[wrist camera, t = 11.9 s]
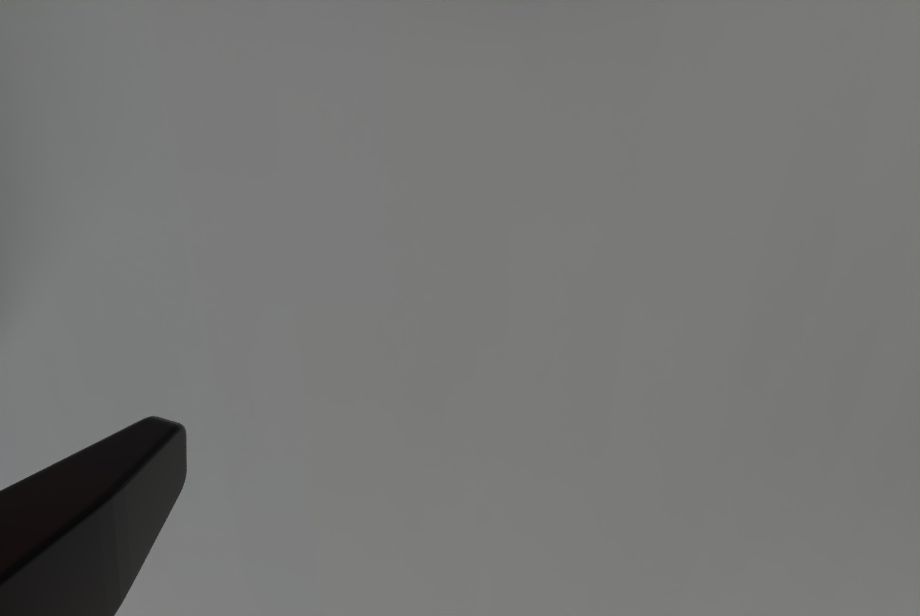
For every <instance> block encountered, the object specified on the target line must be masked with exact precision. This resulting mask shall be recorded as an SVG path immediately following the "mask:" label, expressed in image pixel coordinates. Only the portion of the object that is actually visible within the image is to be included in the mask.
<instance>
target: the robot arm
mask: <svg viewBox="0 0 920 616" xmlns="http://www.w3.org/2000/svg"><path fill="white" fill-rule="evenodd" d="M186 472H187V458H186V430H185V428H184V426H183V425H181V424H180V423H177V422H174V421H170V420H167V419H164V418H160V417H156V416H151V417H147V418H144V419H142V420H140V421H138V422H136V423H134V424H132V425H130V426H128V427H126V428H124V429H122V430H120V431H118V432H117V433H115V434H113V435H111V436H109V437H107V438H105V439H103V440H101V441H99V442H97V443H95V444H93V445H91V446H89V447H87V448H85V449H83V450H81V451H79V452H77V453H75V454H73V455H71V456H69V457H67V458H65V459H63V460H61V461H59V462H57V463H55V464H53V465H51V466H49V467H47V468H45V469H43V470H41V471H39V472H37V473H35V474H33V475H31V476H29V477H27V478H25V479H23V480H21V481H19V482H17V483H15V484H13V485H11V486H9V487H7V488H5V489H3V490H1V491H0V616H114V615H115V613H116V612H117V610H118V609H119V607H120V606H121V604H122V602H123V600H124V599H125V597H126V595H127V593H128V591H129V590H130V588H131V586H132V584H133V582H134V580H135V578H136V576H137V575H138V573H139V571H140V569H141V567H142V565H143V563H144V561H145V559H146V557H147V555H148V554H149V552H150V550H151V548H152V546H153V544H154V542H155V540H156V538H157V536H158V534H159V533H160V531H161V529H162V527H163V525H164V523H165V521H166V519H167V517H168V515H169V513H170V512H171V510H172V508H173V506H174V504H175V502H176V500H177V498H178V496H179V494H180V492H181V490H182V488H183V485H184V482H185V479H186Z"/></svg>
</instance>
